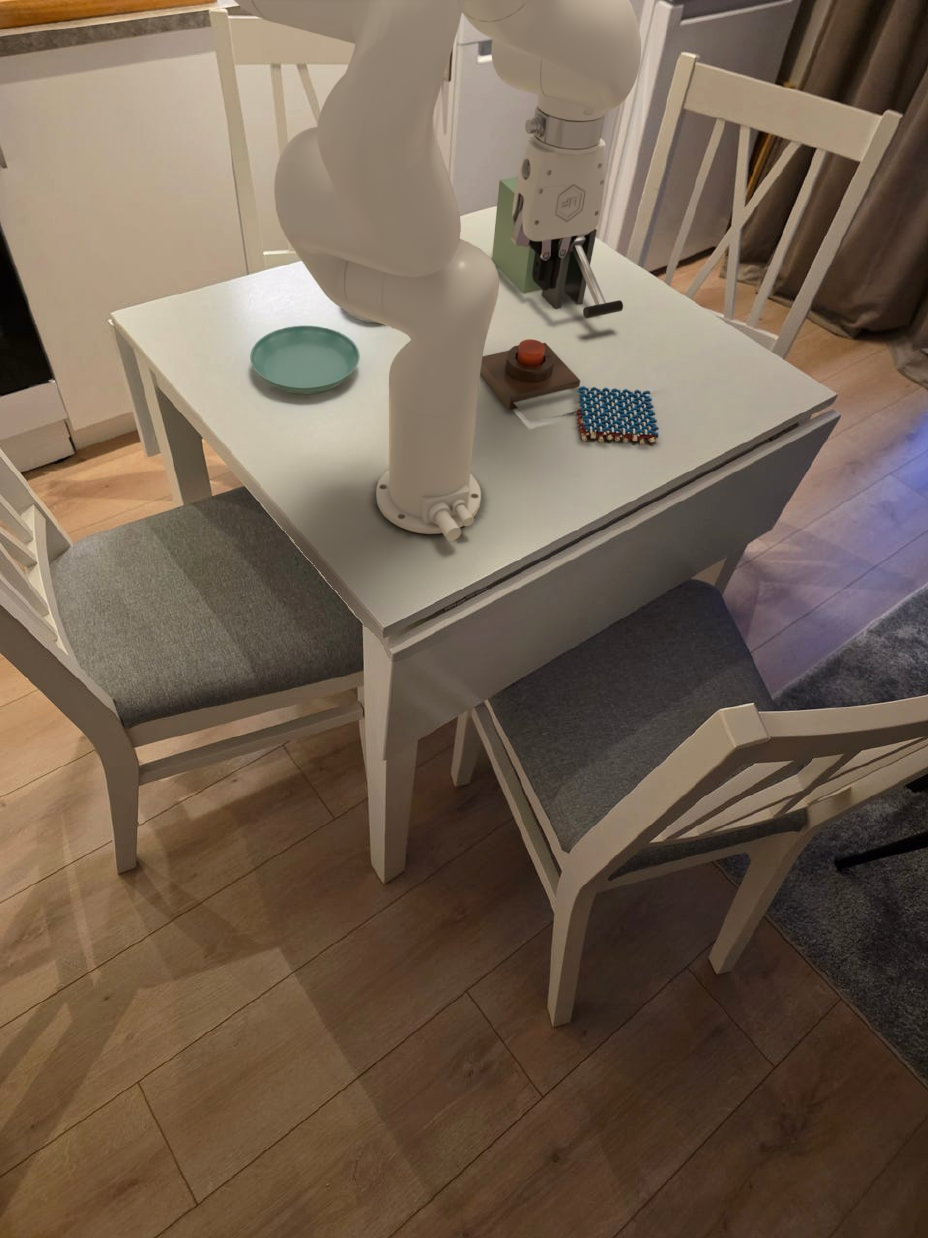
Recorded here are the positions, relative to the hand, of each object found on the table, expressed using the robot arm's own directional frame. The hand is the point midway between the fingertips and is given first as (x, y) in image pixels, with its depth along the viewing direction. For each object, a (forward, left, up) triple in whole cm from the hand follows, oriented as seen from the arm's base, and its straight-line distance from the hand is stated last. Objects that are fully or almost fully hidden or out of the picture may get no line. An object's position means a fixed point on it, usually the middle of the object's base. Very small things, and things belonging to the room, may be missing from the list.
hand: (543, 284), depth 105 cm
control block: (0, 0, -15) cm, 15 cm away
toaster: (+25, -15, -15) cm, 32 cm away
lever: (+11, -15, -7) cm, 20 cm away
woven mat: (-12, -7, -15) cm, 20 cm away
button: (0, 0, -11) cm, 11 cm away
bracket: (+16, -15, -15) cm, 26 cm away
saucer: (+13, +28, -15) cm, 35 cm away
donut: (+25, +13, -15) cm, 32 cm away
